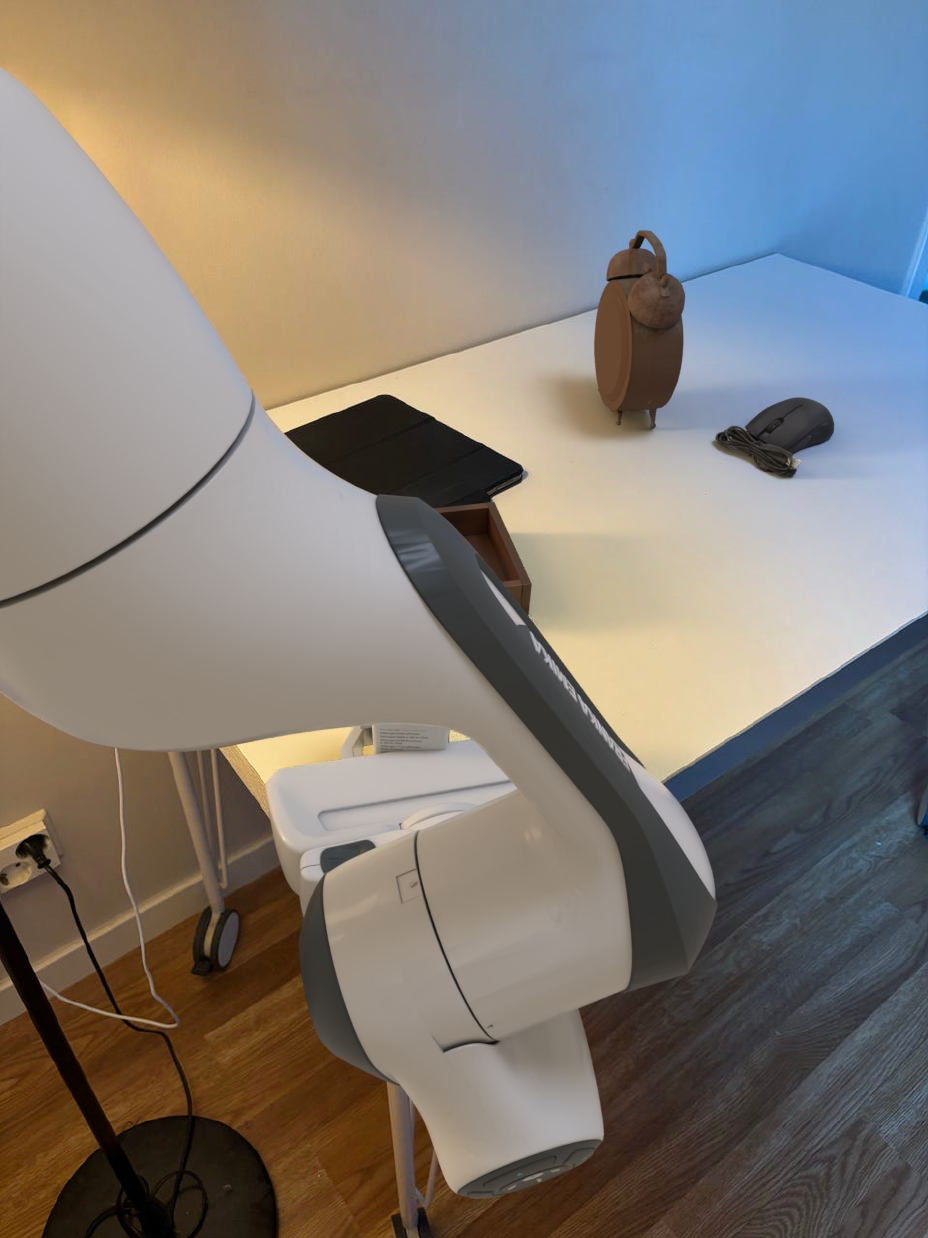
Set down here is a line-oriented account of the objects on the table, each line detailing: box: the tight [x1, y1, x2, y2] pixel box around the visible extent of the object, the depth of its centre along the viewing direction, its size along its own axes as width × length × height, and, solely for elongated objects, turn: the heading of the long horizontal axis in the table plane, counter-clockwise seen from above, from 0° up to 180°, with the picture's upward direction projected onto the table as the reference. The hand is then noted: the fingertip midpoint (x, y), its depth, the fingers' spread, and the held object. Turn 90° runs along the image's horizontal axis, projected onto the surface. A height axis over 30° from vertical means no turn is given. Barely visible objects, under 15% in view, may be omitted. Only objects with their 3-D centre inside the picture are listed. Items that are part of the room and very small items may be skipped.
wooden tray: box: [433, 501, 533, 616], centre depth 85 cm, size 9×13×4 cm
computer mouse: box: [714, 396, 835, 477], centre depth 106 cm, size 10×15×4 cm
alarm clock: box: [593, 229, 686, 429], centre depth 105 cm, size 14×7×20 cm, turn 9°
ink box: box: [372, 724, 451, 754], centre depth 65 cm, size 8×5×12 cm, turn 179°
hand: (410, 710), depth 65 cm, fingers closed on ink box, 5 cm apart
